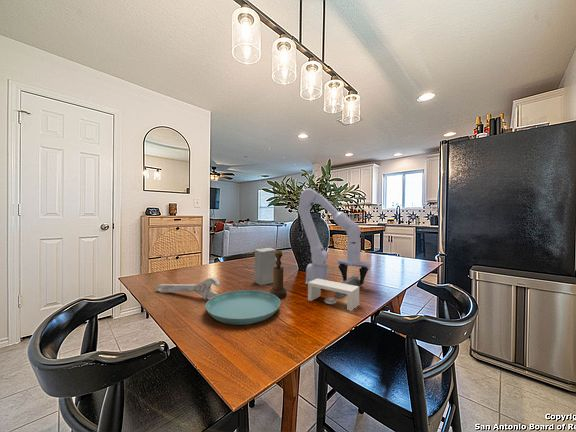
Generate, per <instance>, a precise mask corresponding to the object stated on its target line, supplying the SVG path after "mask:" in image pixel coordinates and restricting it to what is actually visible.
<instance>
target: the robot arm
mask: <svg viewBox="0 0 576 432" xmlns="http://www.w3.org/2000/svg"><path fill="white" fill-rule="evenodd" d="M298 203H299V204H298V208H297V211H298V214H299V217H300V220H301V223H302V226H303V228H304V232H305V234H306V238H307V240H308V244H309V246H310V253H311V258H310V259H311V263H308V264H307V266H306V268H305V285H308V282H310V281H312V280H315V279H317V278H318V279H323V280H328V277H329V275H328V273H329V270H328V266H329V264H328V263H327V260H328V259H329V255H328V254H329V253H328V252H327V250H326V249H325V248H324V245H323V243H322V242H321V239H320V237H319V234H318V231H317V228H316V226H315V223H314V220H313V218H312V217H313V216H312V214H311V211H310V210H311V209H312V208H313V205H315V204H317V205H319V206H321V207H323V208H324V210H326V212H328V213H329V214H331V216H332V217H333V222H334V223H336V225H338V227H340V228H341V230H343V231H344V232H346V236H347V241H346V259H337V261H336V263H337V265H338V270H339V271H340V274H341V275H342V276H341V277H342V282H343V281H345V280H347V279H348V267H349V266H351V267H355V268H356V267H357V268H359V271H358V272H359V276H360V277H359V280H360V285H362V286H363V285H364V282H365V278H366V275H367V274H368V271H369V270H370V269H371V268H372V267H371V265H372V264H371V263H370V262H365V261H364V262H363V261H361V237H360V235H361V233H362V230H361V228H360V226H359V225H358V224H356V221H355V220H352V218H350V217H349V216H348V213H347V212H345V213H344V211H339V210H338V209H336V208H335V206H334V205H333V204H331V202H330V201H329V200H328V199H327V198H326V197H325V196H323V195H322V194H320V193H319V192H317V191H316V190H314V189H313V188H311V187H309V188H308V187H307V188H305V189H303V190H302V192H301V193H300V195H299V202H298Z"/></svg>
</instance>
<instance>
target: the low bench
mask: <svg viewBox="0 0 576 432" xmlns="http://www.w3.org/2000/svg"><path fill="white" fill-rule="evenodd" d="M321 289H323V290H327V291H331V292H334V293H335V292H340V293H344V294H345V295H346V296H347V297H346V298H347V299H346V301H347V303H346V305H347V306H346V307H347V308H346V310H350V311H349V312H351V311H352V310H353V309H354V308H355V309H357V308H358V307H359V306H360V287H359V286H354V285H349V284H344V283H341V282H337V281H332V280H328V279H327V280H323V279H318V278H317V279H315V280H312V281H310V282H308V284H307V301H309V302H312V301H314V300H316V299H317V298H319V297H321V294H322V293H321V292H322V290H321ZM358 305H359V306H358ZM357 306H358V307H357ZM355 309H354V310H355ZM354 310H353V311H354ZM353 311H352V312H353Z"/></svg>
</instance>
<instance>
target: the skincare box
mask: <svg viewBox="0 0 576 432" xmlns="http://www.w3.org/2000/svg"><path fill="white" fill-rule="evenodd" d="M276 251H277V250H276V249H275V248H271V247H266V248H265V247H264V248H263V247H262V248H254V283H256V284H257V285H259V286H264V285H269V284H273V268H274V267H276V261H277V258H276V256H275V252H276Z"/></svg>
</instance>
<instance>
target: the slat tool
mask: <svg viewBox="0 0 576 432" xmlns="http://www.w3.org/2000/svg"><path fill="white" fill-rule="evenodd" d="M359 276H360V275H352V276H351V277H349V278H348V277H347V280H345V281H343V280H342V281H341V282H340V283H344V284H349V285H354V286H359V288H362V286H363V284H362V285H360V277H359ZM343 295H344V296H346V294H344V293H340V292H335V291H334V297H335V298H337V297H338V298H337V299H341V298H342V297H344V296H343Z"/></svg>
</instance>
